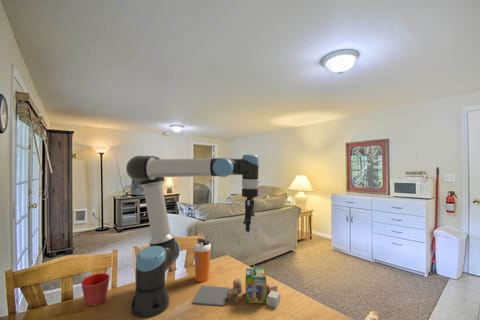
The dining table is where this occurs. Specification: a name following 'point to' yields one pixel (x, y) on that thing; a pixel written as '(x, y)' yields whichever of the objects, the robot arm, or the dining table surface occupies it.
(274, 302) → the grey plastic block
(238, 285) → the oak cylinder
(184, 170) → the robot arm
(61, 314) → the dining table surface
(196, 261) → the shaker bottle
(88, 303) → the flower pot
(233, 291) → the walnut block
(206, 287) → the mat
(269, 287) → the terracotta cube
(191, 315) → the dining table surface
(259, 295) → the chalk box
